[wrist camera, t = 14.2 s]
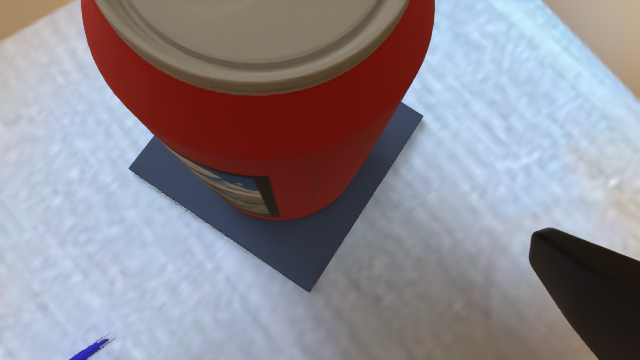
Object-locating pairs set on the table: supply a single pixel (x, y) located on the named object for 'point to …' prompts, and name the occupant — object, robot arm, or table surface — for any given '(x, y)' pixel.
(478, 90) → the table surface
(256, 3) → the beverage can
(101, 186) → the table surface
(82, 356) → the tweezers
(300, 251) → the blue mat
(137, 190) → the table surface
